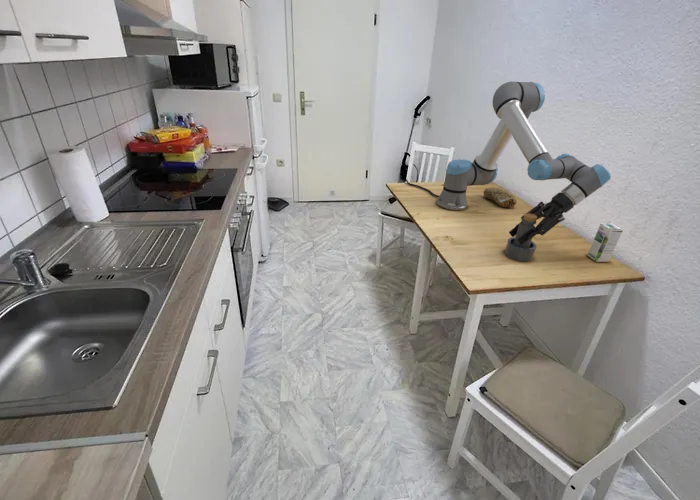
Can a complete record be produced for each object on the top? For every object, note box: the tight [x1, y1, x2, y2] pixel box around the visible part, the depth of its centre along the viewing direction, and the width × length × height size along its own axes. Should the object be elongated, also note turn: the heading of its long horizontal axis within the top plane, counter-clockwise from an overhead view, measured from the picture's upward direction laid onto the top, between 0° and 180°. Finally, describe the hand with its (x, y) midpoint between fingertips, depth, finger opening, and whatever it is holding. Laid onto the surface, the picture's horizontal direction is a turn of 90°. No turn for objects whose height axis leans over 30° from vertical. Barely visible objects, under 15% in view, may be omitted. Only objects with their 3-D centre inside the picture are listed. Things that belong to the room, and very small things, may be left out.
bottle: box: [514, 212, 538, 248], centre depth 140 cm, size 6×6×15 cm
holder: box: [504, 236, 537, 263], centre depth 144 cm, size 10×10×6 cm
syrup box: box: [586, 222, 624, 263], centre depth 142 cm, size 6×6×14 cm
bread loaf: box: [483, 187, 517, 209], centre depth 198 cm, size 13×8×20 cm
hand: (514, 238), depth 141 cm, fingers closed on bottle, 6 cm apart
